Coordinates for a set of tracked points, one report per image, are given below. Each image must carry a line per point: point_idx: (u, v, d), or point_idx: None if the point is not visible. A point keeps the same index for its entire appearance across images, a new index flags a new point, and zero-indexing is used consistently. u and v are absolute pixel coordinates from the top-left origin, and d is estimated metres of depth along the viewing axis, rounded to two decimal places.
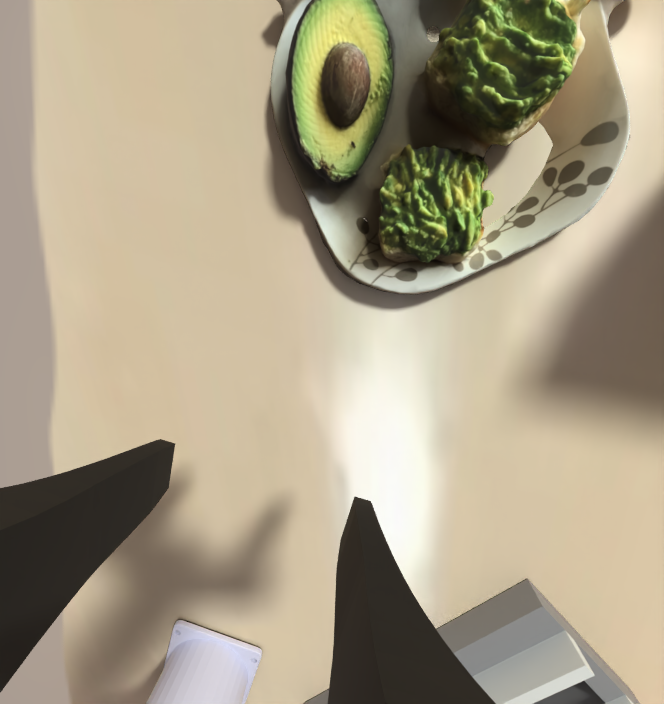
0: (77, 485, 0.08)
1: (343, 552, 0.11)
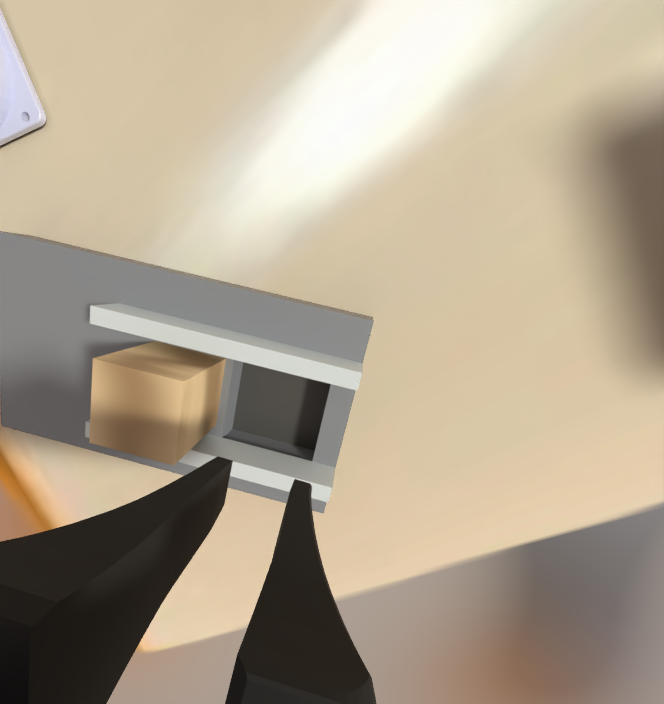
0: (160, 510, 0.08)
1: None
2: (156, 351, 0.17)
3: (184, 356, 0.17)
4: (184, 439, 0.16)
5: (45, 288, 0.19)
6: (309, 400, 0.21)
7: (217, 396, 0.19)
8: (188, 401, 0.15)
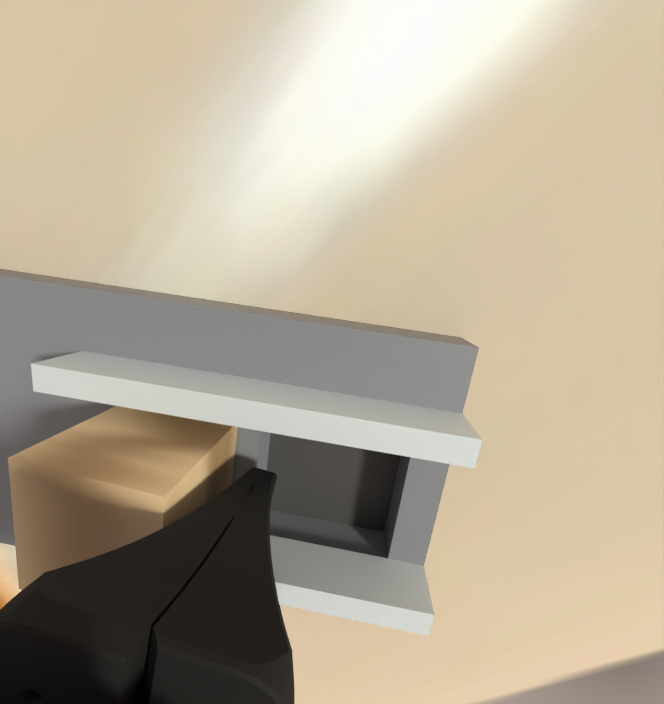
0: (212, 526, 0.08)
1: None
2: (129, 421, 0.11)
3: (173, 427, 0.11)
4: None
5: None
6: (372, 463, 0.14)
7: (229, 477, 0.12)
8: (176, 520, 0.09)
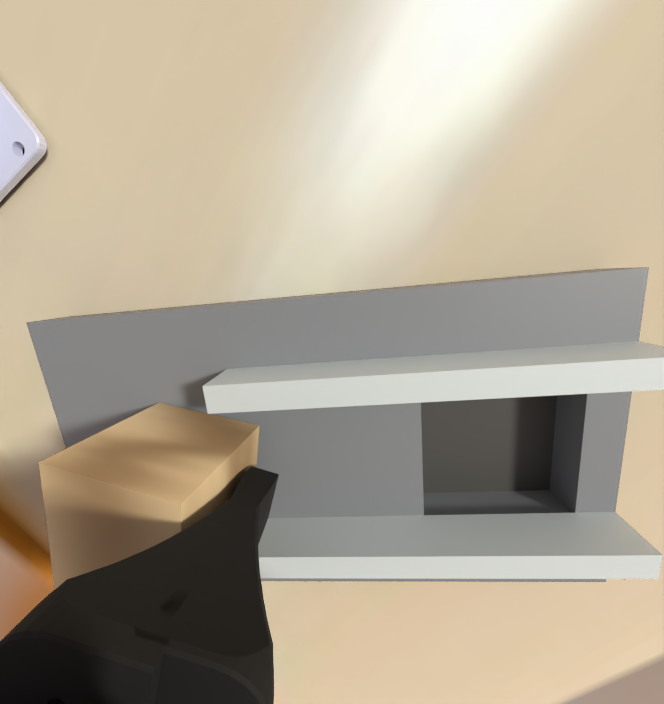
0: (227, 531, 0.08)
1: None
2: (153, 426, 0.11)
3: (194, 432, 0.11)
4: None
5: (117, 381, 0.13)
6: (526, 421, 0.14)
7: None
8: None
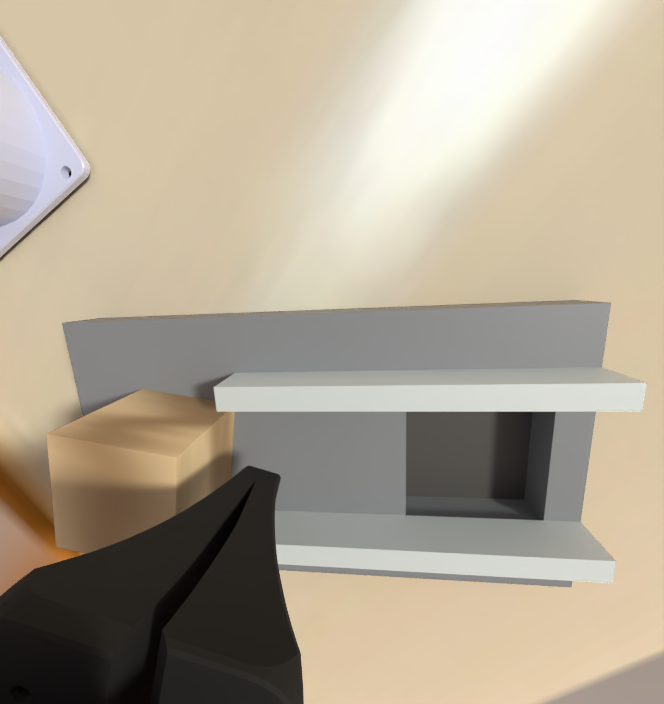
0: (205, 524, 0.08)
1: None
2: (141, 406, 0.13)
3: (179, 410, 0.13)
4: None
5: (137, 378, 0.14)
6: (504, 435, 0.15)
7: (229, 454, 0.14)
8: (186, 479, 0.11)
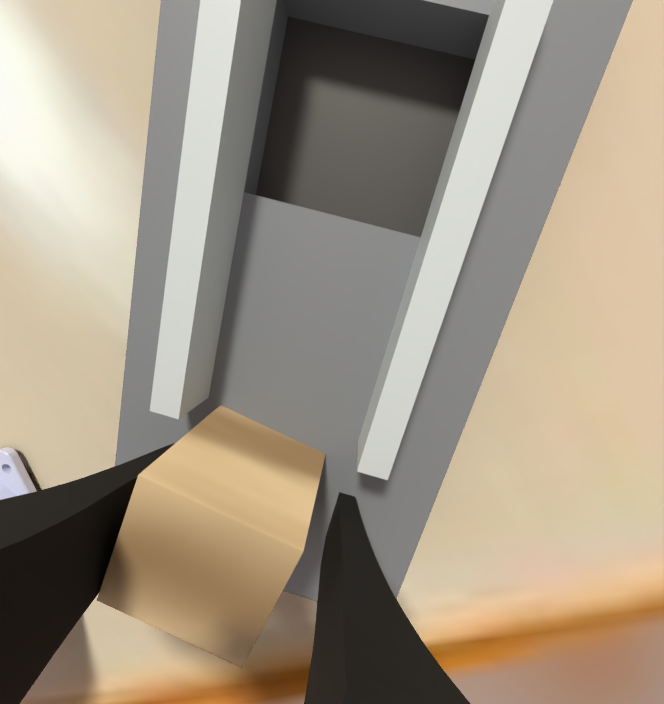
0: (96, 491, 0.08)
1: (326, 547, 0.11)
2: None
3: None
4: (272, 512, 0.08)
5: None
6: (364, 76, 0.11)
7: (272, 435, 0.12)
8: (196, 480, 0.08)
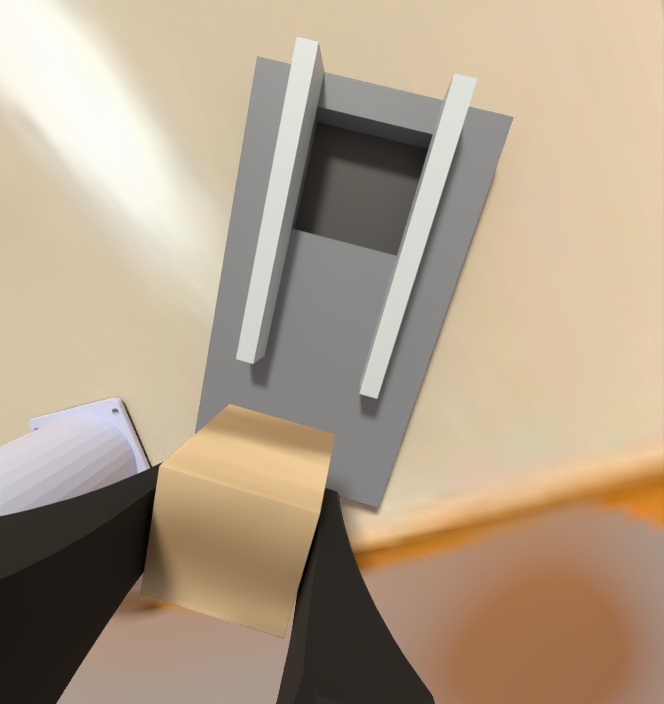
0: (122, 498, 0.08)
1: None
2: None
3: None
4: (287, 485, 0.09)
5: None
6: (363, 157, 0.18)
7: (282, 423, 0.12)
8: (213, 465, 0.09)
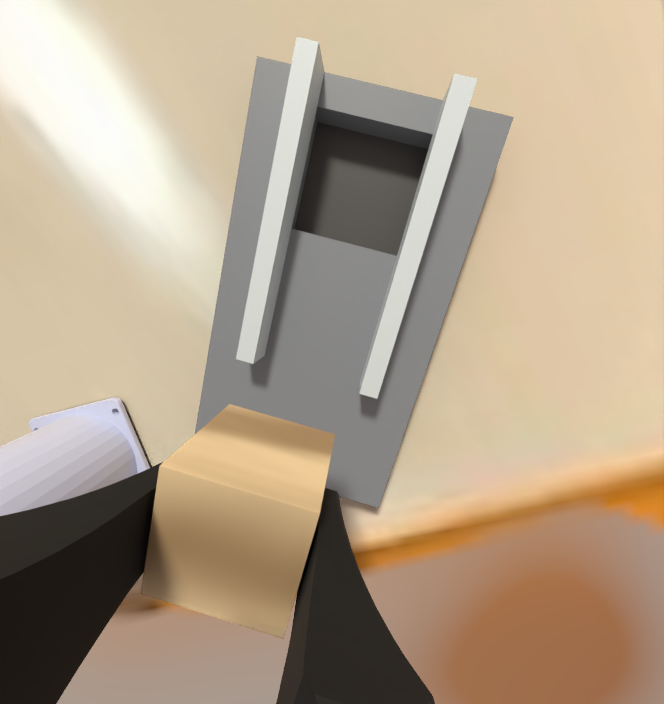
0: (122, 498, 0.08)
1: None
2: None
3: None
4: (287, 485, 0.09)
5: None
6: (363, 157, 0.18)
7: (282, 423, 0.12)
8: (213, 465, 0.09)
